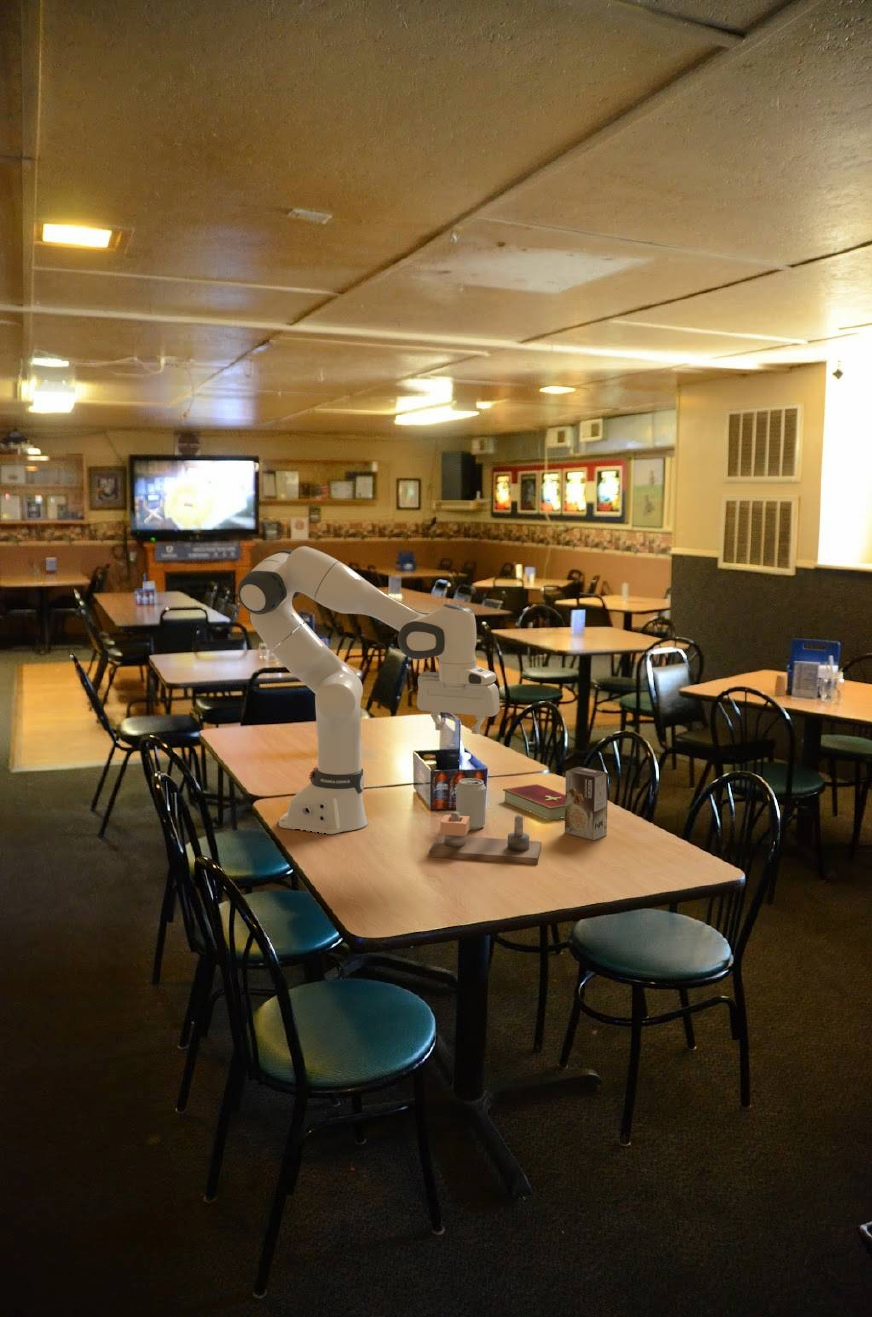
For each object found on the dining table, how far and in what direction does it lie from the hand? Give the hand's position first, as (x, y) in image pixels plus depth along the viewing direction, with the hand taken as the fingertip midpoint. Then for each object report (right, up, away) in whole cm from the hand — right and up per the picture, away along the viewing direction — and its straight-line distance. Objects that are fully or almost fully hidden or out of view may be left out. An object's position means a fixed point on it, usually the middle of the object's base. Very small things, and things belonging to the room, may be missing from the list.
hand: (457, 731), depth 237 cm
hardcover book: (+24, -24, +37) cm, 50 cm away
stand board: (+7, -28, -1) cm, 29 cm away
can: (+4, -26, +19) cm, 32 cm away
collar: (-1, -24, 0) cm, 24 cm away
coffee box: (+32, -27, +14) cm, 44 cm away
